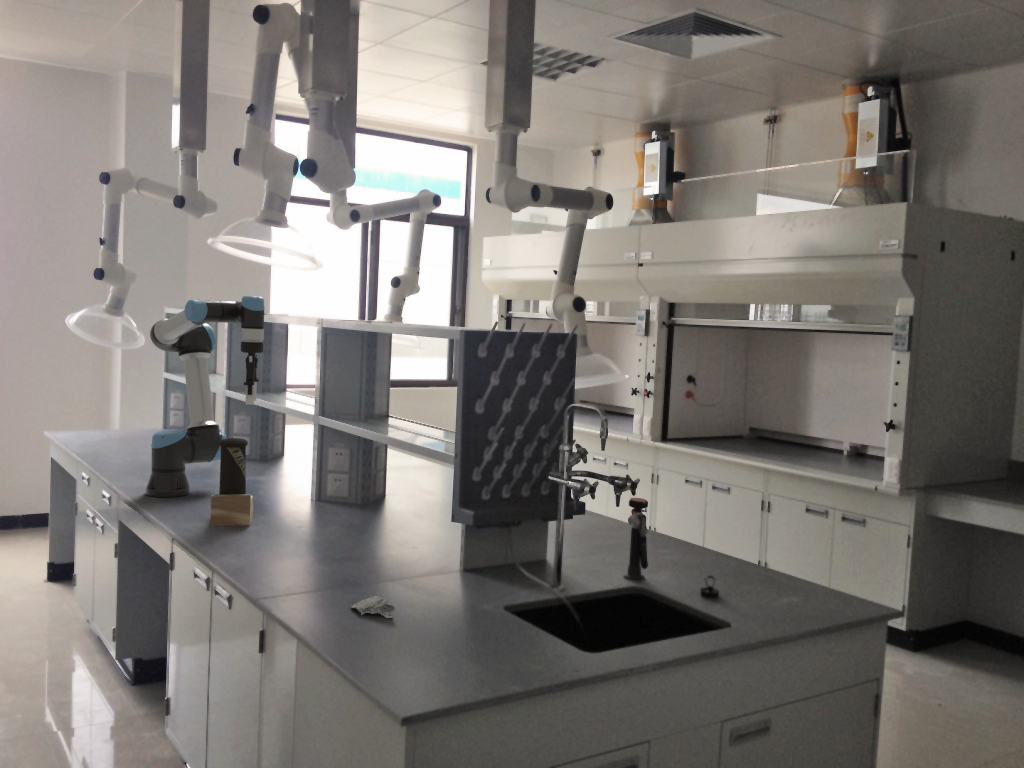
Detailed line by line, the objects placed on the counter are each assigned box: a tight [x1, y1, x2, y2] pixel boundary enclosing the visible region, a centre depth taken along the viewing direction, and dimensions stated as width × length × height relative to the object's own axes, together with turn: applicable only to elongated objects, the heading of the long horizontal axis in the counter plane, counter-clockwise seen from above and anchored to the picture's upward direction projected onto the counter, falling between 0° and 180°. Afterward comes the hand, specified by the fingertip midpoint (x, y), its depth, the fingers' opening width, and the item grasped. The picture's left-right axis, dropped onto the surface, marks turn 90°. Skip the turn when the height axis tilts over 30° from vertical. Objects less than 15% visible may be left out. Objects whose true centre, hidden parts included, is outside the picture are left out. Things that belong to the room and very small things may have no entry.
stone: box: [351, 595, 396, 616], centre depth 208 cm, size 6×12×4 cm, turn 35°
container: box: [218, 437, 249, 495], centre depth 291 cm, size 9×9×20 cm
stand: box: [210, 493, 254, 527], centre depth 293 cm, size 17×12×10 cm
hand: (250, 402), depth 309 cm, fingers open, 13 cm apart
